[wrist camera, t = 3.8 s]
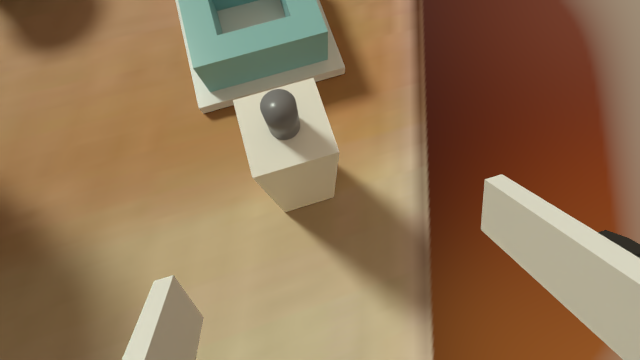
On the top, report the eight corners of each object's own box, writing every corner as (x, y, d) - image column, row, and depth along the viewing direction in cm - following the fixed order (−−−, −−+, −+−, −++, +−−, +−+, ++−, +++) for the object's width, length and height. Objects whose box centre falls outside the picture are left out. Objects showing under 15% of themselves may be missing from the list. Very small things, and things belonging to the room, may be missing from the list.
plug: (333, 197, 25) (341, 135, 12) (284, 212, 24) (240, 165, 12) (318, 151, 26) (311, 51, 13) (271, 165, 26) (218, 77, 13)
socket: (344, 73, 28) (347, 39, 23) (203, 113, 27) (179, 86, 23) (304, -32, 31) (300, -79, 27) (178, 0, 31) (154, -42, 26)
